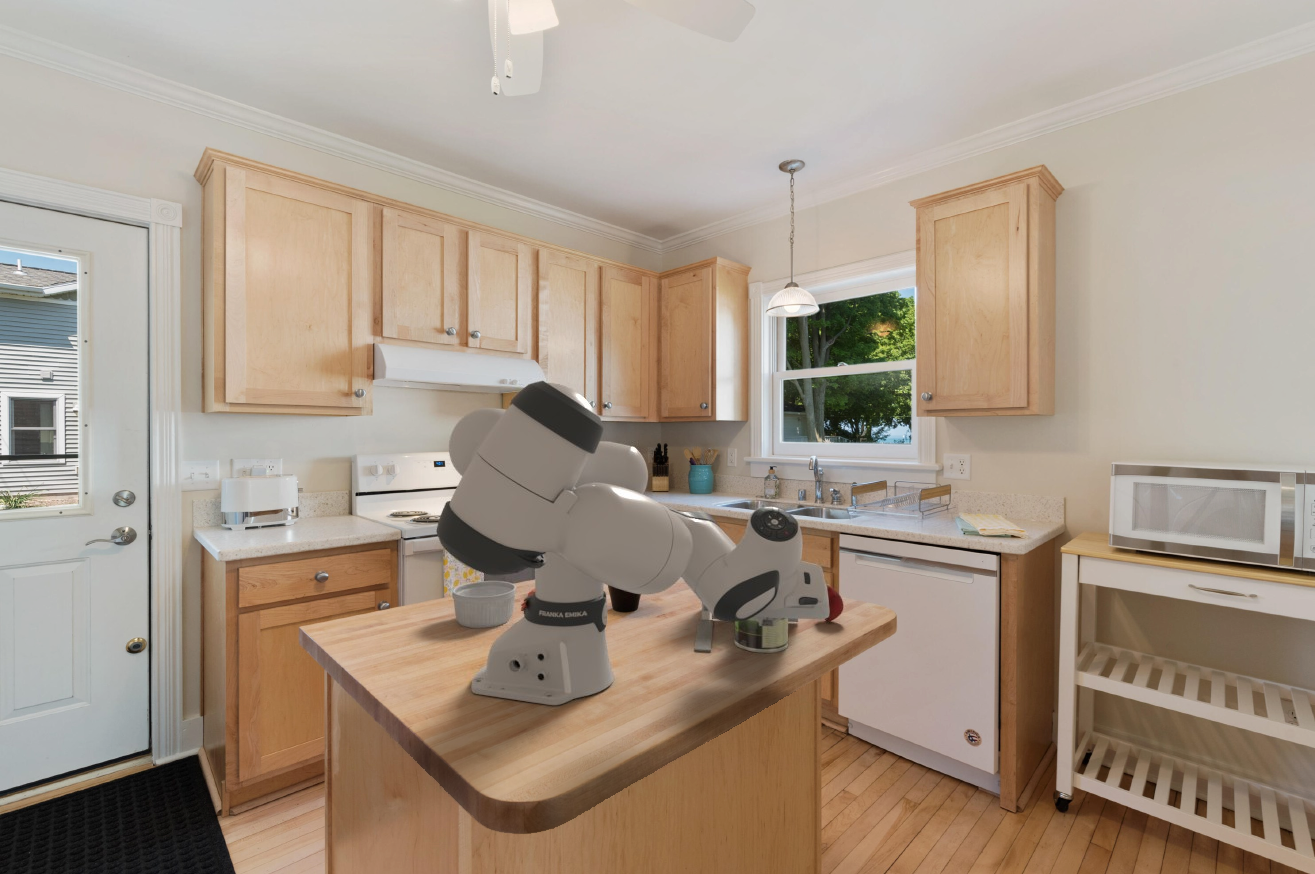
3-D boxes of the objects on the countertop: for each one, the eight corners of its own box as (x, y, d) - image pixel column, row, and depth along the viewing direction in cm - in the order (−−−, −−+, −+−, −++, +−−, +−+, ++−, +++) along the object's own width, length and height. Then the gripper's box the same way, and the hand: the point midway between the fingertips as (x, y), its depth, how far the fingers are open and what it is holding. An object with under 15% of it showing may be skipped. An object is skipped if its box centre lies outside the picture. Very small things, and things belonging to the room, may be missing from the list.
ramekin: (526, 623, 131) (525, 590, 131) (463, 634, 123) (463, 600, 123) (503, 608, 142) (503, 577, 142) (444, 618, 134) (444, 586, 134)
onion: (840, 617, 134) (840, 581, 134) (845, 626, 128) (846, 588, 128) (812, 617, 135) (813, 580, 134) (817, 625, 129) (817, 587, 129)
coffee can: (733, 651, 114) (733, 575, 114) (734, 633, 124) (734, 563, 124) (790, 654, 112) (791, 577, 112) (787, 635, 123) (787, 564, 122)
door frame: (694, 651, 114) (694, 564, 114) (700, 607, 142) (700, 537, 141) (710, 651, 114) (710, 565, 113) (713, 608, 141) (713, 538, 141)
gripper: (705, 595, 100) (708, 636, 110) (835, 600, 98) (826, 641, 107) (706, 562, 105) (709, 604, 114) (831, 565, 102) (822, 608, 112)
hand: (766, 622), depth 111 cm, fingers closed
